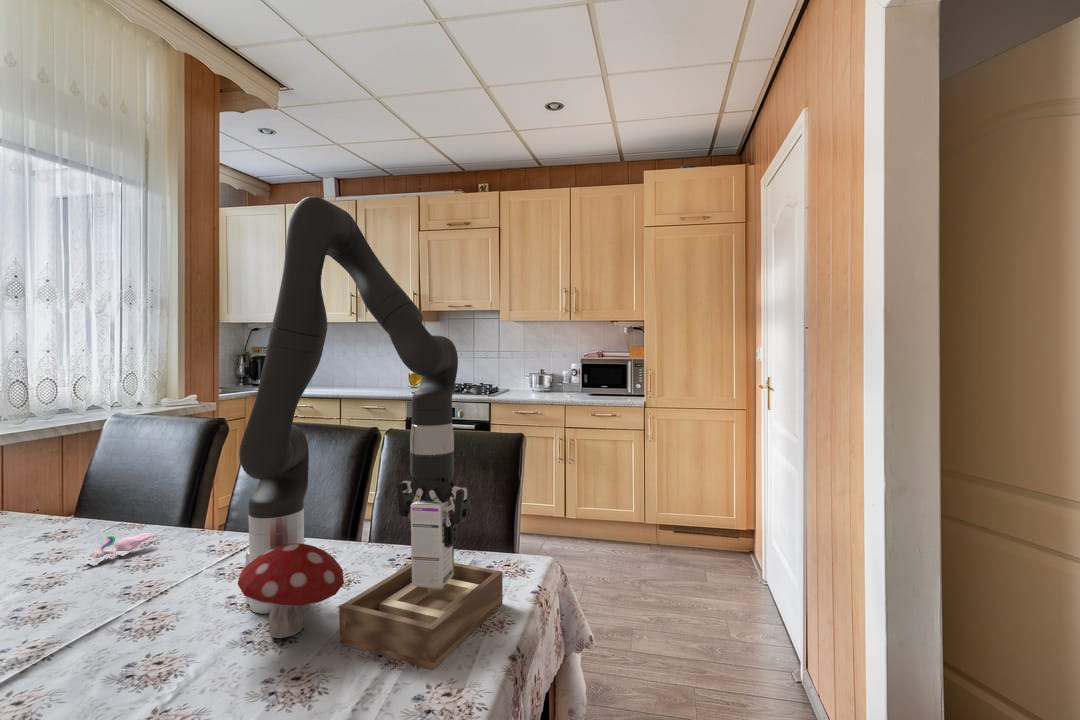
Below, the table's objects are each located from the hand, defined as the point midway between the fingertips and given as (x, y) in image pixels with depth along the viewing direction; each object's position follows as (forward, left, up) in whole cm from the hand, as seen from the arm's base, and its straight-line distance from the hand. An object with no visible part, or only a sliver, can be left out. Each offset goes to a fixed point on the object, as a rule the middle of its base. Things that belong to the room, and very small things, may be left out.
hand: (432, 543), depth 92 cm
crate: (0, -2, -13) cm, 13 cm away
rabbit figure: (-82, -5, -13) cm, 84 cm away
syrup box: (0, 0, -7) cm, 7 cm away
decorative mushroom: (-18, -14, -13) cm, 26 cm away
